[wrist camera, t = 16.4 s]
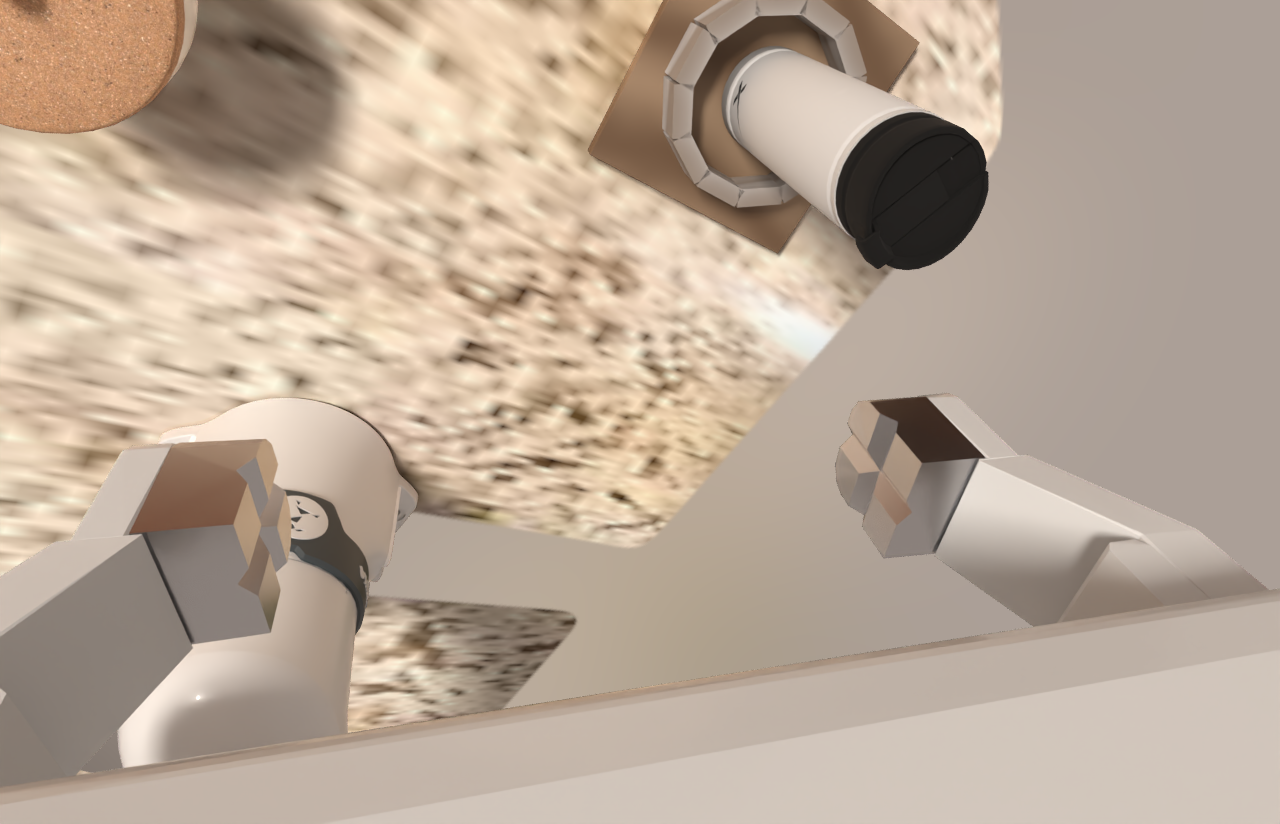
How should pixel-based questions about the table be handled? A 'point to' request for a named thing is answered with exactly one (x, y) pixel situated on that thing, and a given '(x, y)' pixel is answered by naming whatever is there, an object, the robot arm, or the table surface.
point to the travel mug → (859, 155)
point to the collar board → (692, 96)
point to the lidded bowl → (88, 59)
